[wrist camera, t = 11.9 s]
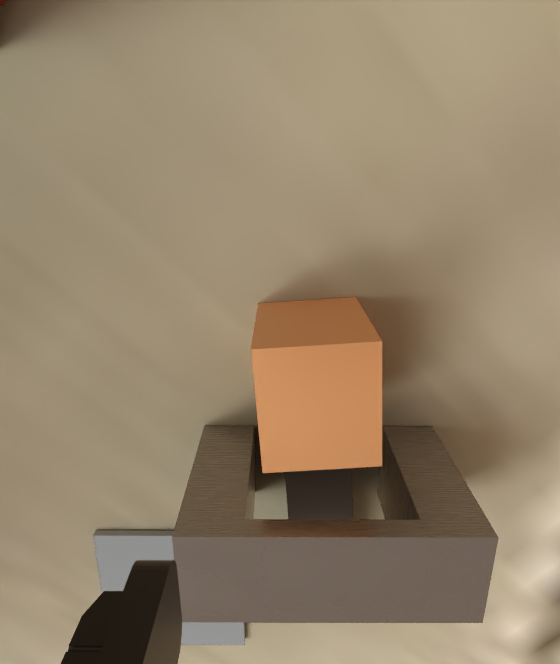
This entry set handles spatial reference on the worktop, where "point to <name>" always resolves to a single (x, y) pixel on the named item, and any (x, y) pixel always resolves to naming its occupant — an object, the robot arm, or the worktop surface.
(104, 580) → the mat
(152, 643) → the robot arm
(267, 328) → the plug
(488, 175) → the worktop surface
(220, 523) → the block
